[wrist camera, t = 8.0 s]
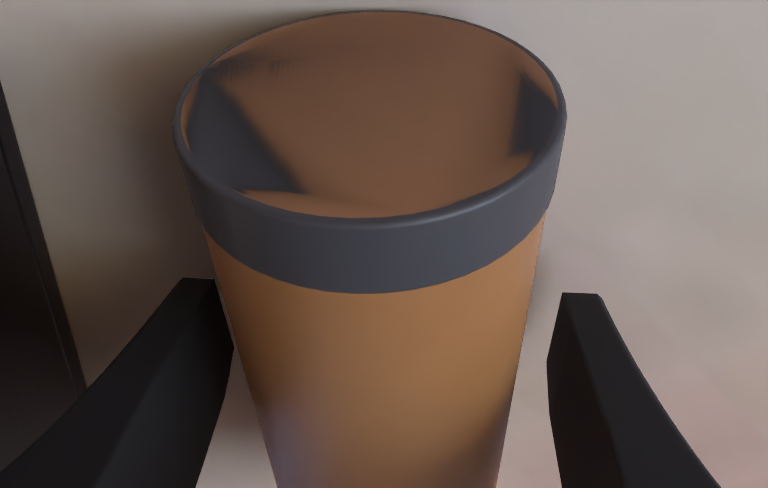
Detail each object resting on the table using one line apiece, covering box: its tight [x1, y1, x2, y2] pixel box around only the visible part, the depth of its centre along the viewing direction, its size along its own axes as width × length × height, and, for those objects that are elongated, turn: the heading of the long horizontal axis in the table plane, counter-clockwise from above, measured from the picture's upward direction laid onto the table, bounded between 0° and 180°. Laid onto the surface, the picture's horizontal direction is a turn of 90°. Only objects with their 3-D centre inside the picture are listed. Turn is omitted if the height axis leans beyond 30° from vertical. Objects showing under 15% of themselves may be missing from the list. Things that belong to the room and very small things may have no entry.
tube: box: [172, 10, 567, 488], centre depth 12 cm, size 11×5×5 cm, turn 2°
